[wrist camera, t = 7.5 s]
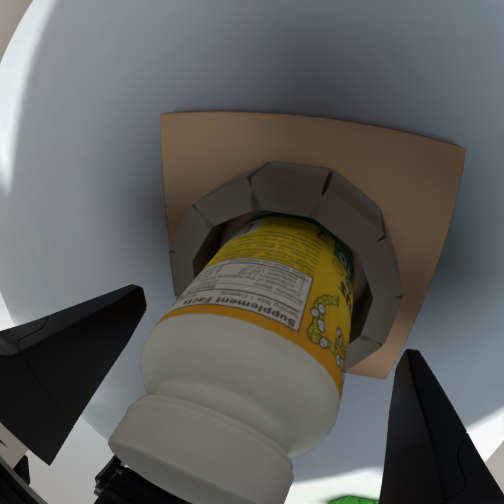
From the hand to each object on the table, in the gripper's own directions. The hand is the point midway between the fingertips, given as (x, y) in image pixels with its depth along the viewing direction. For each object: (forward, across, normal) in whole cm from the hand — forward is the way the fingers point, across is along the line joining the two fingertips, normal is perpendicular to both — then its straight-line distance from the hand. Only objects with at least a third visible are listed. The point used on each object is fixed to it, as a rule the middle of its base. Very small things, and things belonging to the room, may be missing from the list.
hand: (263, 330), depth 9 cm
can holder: (+5, 0, 0) cm, 5 cm away
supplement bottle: (+4, 0, 0) cm, 4 cm away
